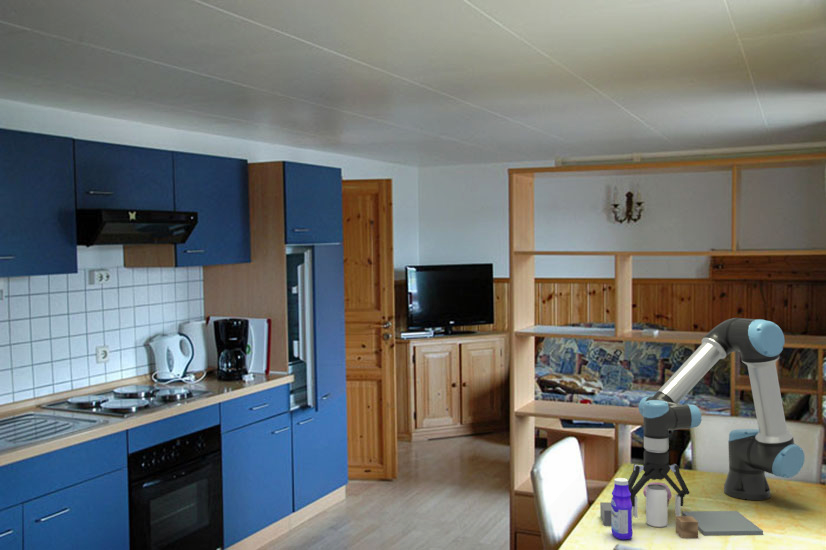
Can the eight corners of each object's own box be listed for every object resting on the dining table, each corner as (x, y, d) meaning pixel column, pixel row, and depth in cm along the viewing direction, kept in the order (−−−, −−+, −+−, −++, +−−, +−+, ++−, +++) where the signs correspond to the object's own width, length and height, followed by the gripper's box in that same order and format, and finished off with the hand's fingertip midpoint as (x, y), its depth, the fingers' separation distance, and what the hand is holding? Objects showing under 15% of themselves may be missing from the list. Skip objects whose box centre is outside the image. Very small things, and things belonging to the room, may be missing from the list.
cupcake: (638, 511, 242) (638, 481, 241) (653, 506, 247) (653, 477, 247) (661, 518, 234) (661, 488, 234) (677, 513, 240) (676, 483, 240)
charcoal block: (612, 517, 236) (612, 502, 236) (617, 526, 228) (617, 510, 228) (600, 517, 237) (600, 502, 237) (604, 526, 229) (604, 510, 229)
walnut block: (692, 532, 223) (691, 516, 223) (698, 538, 218) (698, 521, 218) (675, 532, 223) (675, 516, 223) (681, 538, 218) (681, 522, 218)
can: (669, 528, 226) (668, 490, 226) (647, 527, 227) (647, 489, 227) (666, 521, 232) (665, 484, 232) (645, 520, 233) (644, 483, 233)
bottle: (608, 532, 223) (608, 476, 223) (626, 531, 224) (625, 475, 223) (617, 541, 216) (616, 483, 216) (635, 540, 216) (635, 482, 216)
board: (736, 514, 238) (736, 510, 238) (763, 534, 220) (763, 530, 220) (682, 515, 238) (682, 511, 238) (703, 535, 220) (703, 531, 220)
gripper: (690, 446, 233) (691, 511, 233) (613, 447, 233) (614, 512, 233) (700, 452, 226) (700, 520, 226) (620, 453, 226) (620, 520, 226)
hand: (656, 516), depth 230 cm, fingers open, 13 cm apart
